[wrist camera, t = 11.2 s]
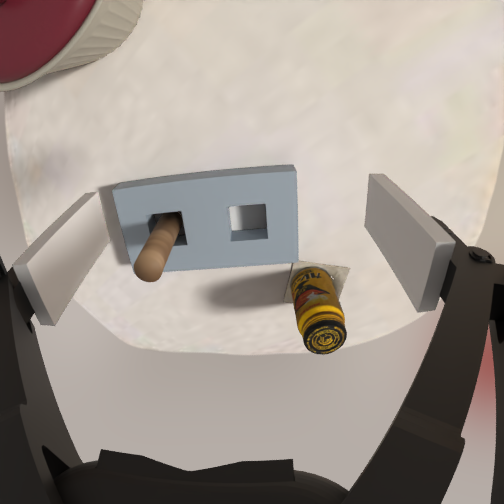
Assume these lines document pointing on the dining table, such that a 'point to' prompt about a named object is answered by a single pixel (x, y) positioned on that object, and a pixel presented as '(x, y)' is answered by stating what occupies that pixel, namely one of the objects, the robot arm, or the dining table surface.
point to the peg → (158, 247)
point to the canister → (59, 35)
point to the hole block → (214, 216)
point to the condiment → (318, 305)
